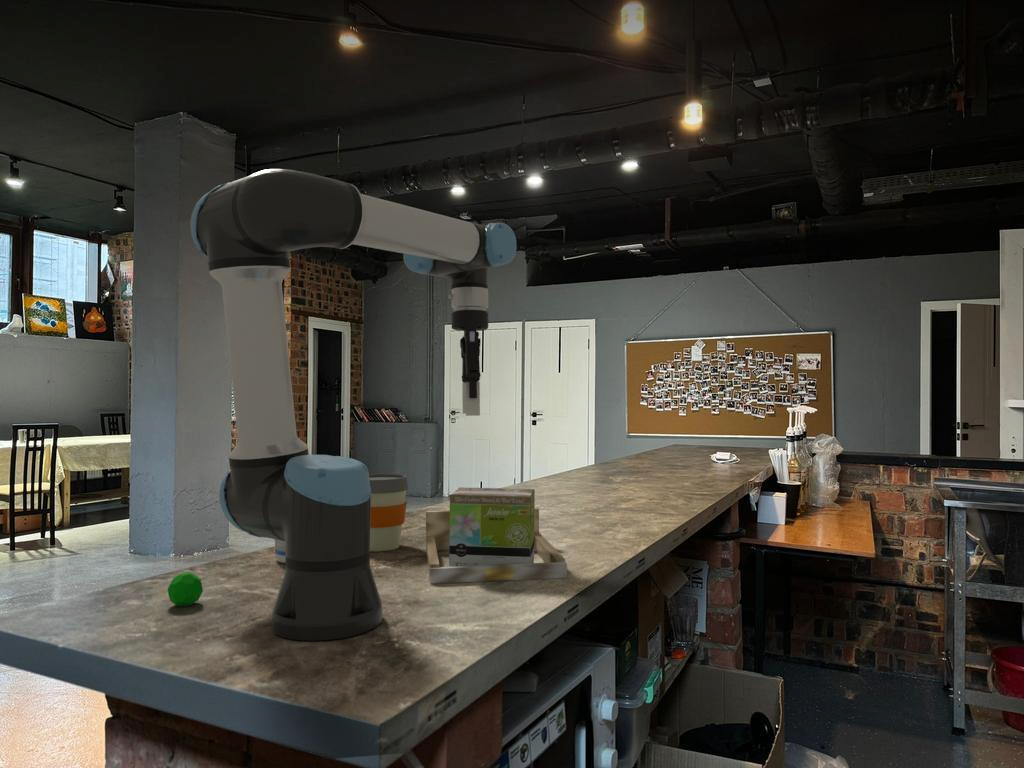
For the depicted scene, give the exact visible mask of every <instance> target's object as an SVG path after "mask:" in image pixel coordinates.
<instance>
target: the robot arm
mask: <svg viewBox="0 0 1024 768" xmlns="http://www.w3.org/2000/svg"><path fill="white" fill-rule="evenodd" d="M190 234H191V238H192V241H193V243H194V245H195V247H196V249H198V251H200V252H201V253H202V254H203V257H204V258H206V259H207V261H208V262H207V264H208V273H209V275H210V276H211V277H212V278H213V279H214V280H216V281H217V282H218V283H219V284H220V285H221V288H222V289H221V291H222V301H223V309H224V320H225V328H226V329H225V330H226V338H227V339H226V340H227V347H228V357H229V359H228V360H229V367H230V377H231V386H232V387H231V389H232V395H233V406H234V415H235V423H236V424H235V425H236V434H237V435H236V436H237V444H236V445H235V447H234V448H233V449H232V450H231V451H230V453H228V464H229V470H228V471H227V472H226V475H225V477H224V478H222V480H221V482H220V483H221V484H220V487H219V496H218V497H219V503H220V504H219V505H220V508H221V510H222V513H223V515H224V516H225V518H226V519H227V521H228V522H229V523H230V524H231V525H232V526H233V527H235V528H236V529H238V530H240V531H242V532H245V533H247V534H248V535H250V536H254V537H257V538H266V539H271V540H275V539H276V540H281V541H285V556H286V563H284V564H285V567H284V568H285V569H284V575H283V578H282V580H281V585H280V588H279V590H278V594H277V595H276V600H275V602H274V606H273V608H272V609H273V610H272V613H271V629H272V632H273V633H274V634H275V635H277V636H279V637H283V638H286V639H290V640H297V641H328V640H329V641H331V640H338V639H343V638H349V637H353V636H357V635H361V634H363V633H367V632H369V631H372V630H373V629H375V628H377V627H378V626H380V624H381V623H382V621H383V603H382V600H381V599H382V598H381V596H380V593H379V590H378V587H377V584H376V581H375V578H374V575H373V572H372V569H371V551H370V501H371V487H370V481H369V474H370V472H369V469H368V467H367V466H366V464H364V463H363V462H361V461H360V460H357V459H354V458H350V457H345V456H339V455H335V456H334V455H329V454H309V453H310V452H309V446H308V444H307V443H306V442H304V441H303V440H301V438H300V437H298V435H297V425H296V414H295V405H294V394H293V385H292V384H293V383H292V376H291V375H292V374H291V367H290V364H291V363H290V356H289V346H288V345H289V344H288V337H287V336H288V334H287V324H286V315H285V306H284V303H285V302H284V295H283V294H284V292H283V280H284V279H285V278H286V277H287V276H288V275H289V274H290V272H291V261H290V252H294V251H299V250H301V249H303V250H305V249H311V248H320V247H321V248H322V247H323V248H324V247H325V248H335V249H340V250H343V249H346V248H348V247H349V246H352V245H356V246H360V247H366V248H373V249H376V250H381V251H382V250H383V251H388V252H394V253H399V254H403V255H402V256H403V262H404V265H405V266H406V267H407V269H408V270H409V271H411V272H413V273H417V274H420V275H422V276H432V277H438V278H447V279H450V289H451V293H448V296H447V297H448V299H450V300H451V309H452V310H453V311H452V312H451V314H450V315H451V316H450V317H451V329H452V330H454V331H459V332H460V331H463V336H462V337H461V338H460V340H459V344H460V345H459V346H460V357H461V359H462V363H461V364H462V366H461V367H462V369H461V370H462V371H461V372H462V373H461V381H462V390H461V391H462V393H461V394H462V398H461V399H462V400H461V401H462V414H463V415H465V416H467V417H469V416H470V417H471V416H472V417H473V416H481V395H480V394H481V393H480V392H481V387H480V386H481V385H480V384H481V383H480V380H481V375H482V374H481V369H480V368H481V367H480V366H481V365H480V355H481V348H480V347H481V338H479V337H480V332H479V331H486V330H488V328H489V312H488V311H487V310H488V309H489V289H488V288H489V287H488V286H489V285H488V278H489V277H488V276H489V275H488V273H489V272H488V268H498V267H499V266H503V265H508V264H509V263H511V262H512V261H513V260H514V258H515V256H516V254H517V249H518V248H517V237H516V235H515V232H514V231H513V229H512V228H511V227H510V226H509V225H508V224H506V223H505V222H490V223H488V224H479V223H475V222H471V221H467V220H462V219H458V218H455V217H451V216H447V215H444V214H439V213H435V212H431V211H428V210H424V209H420V208H416V207H412V206H409V205H405V204H402V203H399V202H398V203H397V202H394V201H390V200H387V199H386V200H385V199H383V198H382V199H381V198H378V197H374V196H370V195H367V194H363V193H361V192H360V191H359V189H358V188H357V187H356V186H355V185H354V184H352V183H349V182H345V181H341V180H338V179H334V178H330V177H326V176H321V175H319V174H315V173H311V172H306V171H305V172H304V171H300V170H299V171H298V170H294V169H286V168H285V169H283V168H269V169H263V170H260V171H257V172H254V173H252V174H250V175H248V176H245V177H242V178H239V179H237V180H234V181H232V182H226V183H223V184H220V185H217V186H216V187H214V188H213V189H211V190H210V191H208V192H207V193H205V194H204V195H203V196H201V198H199V200H198V201H197V202H196V204H195V205H194V206H193V209H192V212H191V217H190Z"/></svg>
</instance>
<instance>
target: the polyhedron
mask: <svg viewBox="0 0 1024 768" xmlns="http://www.w3.org/2000/svg"><path fill="white" fill-rule="evenodd" d="M203 592H204V588H203V583H202V579H201V578H200V577H199V576H198V575H197V574H195V573H192V572H183V573H180V574H178V575H176V576H175V577H173V578H172V580H171V582H170V583H169V585H168V588H167V595H168V598H169V601H170V602H171V603H172V604H173V605H175V606H178V607H188V605H189V606H191V605H193V604H194V603H196V602H198V601H199V600H200V598H201V596H202V593H203Z"/></svg>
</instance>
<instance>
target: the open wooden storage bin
mask: <svg viewBox="0 0 1024 768" xmlns="http://www.w3.org/2000/svg"><path fill="white" fill-rule="evenodd" d="M449 517H450V509H447V510H446V509H445V510H425V553H426V560H427V568H428V577H429V583H430V585H431V584H452V583H453V584H455V583H457V584H458V583H479V582H480V583H481V582H496V581H497V582H499V581H501V582H502V581H520V580H547V579H548V580H549V579H565V578H566V579H567V578H568V576H567V575H568V571H567V569H568V567H567V566H568V564H567V562H566V558H565V557H564V556H563V555H562V554H561V553H560V552H559V551H558V550H557V549H556V547H554V546H553V545H552V544H551V543H550V542H549V541H548V540H547V539H546V538H545V536H543V535H542V534H541V533H540V508H539V507H535V512H534V552H535V553H536V554H537V555H538V557H540V558H541V560H542V561H543V562H536V563H535V562H534V563H527V564H502V565H477V566H453V567H449V566H440V561H439V556H438V551H449Z"/></svg>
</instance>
